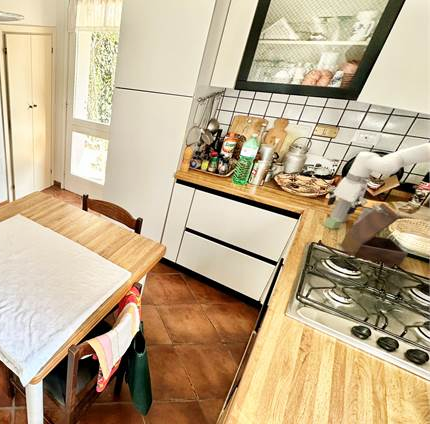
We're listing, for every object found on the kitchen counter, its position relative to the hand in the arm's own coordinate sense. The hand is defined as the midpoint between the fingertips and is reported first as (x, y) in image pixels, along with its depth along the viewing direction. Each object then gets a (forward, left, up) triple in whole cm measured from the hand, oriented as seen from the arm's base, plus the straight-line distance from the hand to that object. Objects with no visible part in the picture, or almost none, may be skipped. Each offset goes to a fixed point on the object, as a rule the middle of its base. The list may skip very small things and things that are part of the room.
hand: (339, 209), depth 154 cm
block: (0, 0, -10) cm, 10 cm away
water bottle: (+6, -11, -10) cm, 16 cm away
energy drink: (-6, -11, -10) cm, 16 cm away
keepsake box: (-24, +10, -10) cm, 28 cm away
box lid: (-22, +13, +6) cm, 26 cm away
